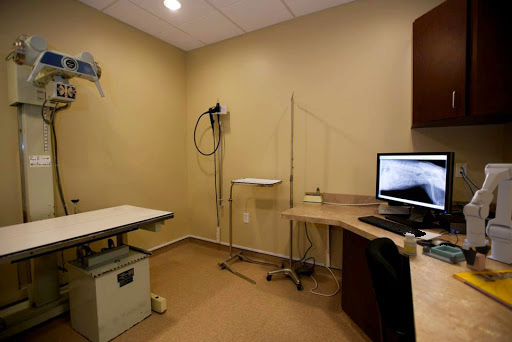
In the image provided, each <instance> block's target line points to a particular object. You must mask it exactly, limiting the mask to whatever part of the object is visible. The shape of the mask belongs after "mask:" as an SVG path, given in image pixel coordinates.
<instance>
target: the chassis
mask: <svg viewBox="0 0 512 342" xmlns="http://www.w3.org/2000/svg"><path fill="white" fill-rule="evenodd" d="M421 254H423V255H425V256H428V257H431V258H433V259H436V260H439V261H442V262H445V263H448V264H450V265H452V264H458V262H459V263H460V262H463V261H466V259H465V256H464V254H463V252H462V251H461V249H460V248H456V247H453V246H450V245H447V246H446V245H444V244H443V245H441V246H440V245H437V246H434V247H433V246H432V247H429V246H426V245H424V246H423V247H422V252H421Z"/></svg>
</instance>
